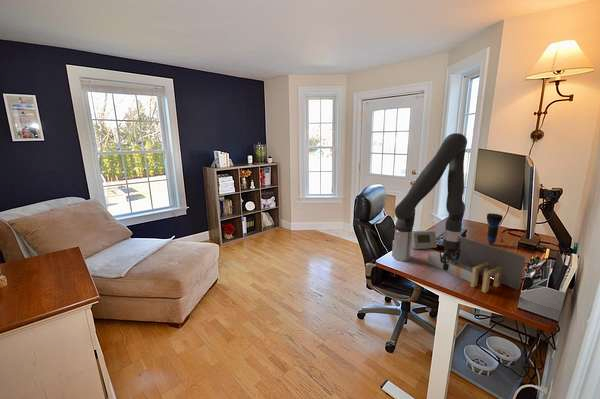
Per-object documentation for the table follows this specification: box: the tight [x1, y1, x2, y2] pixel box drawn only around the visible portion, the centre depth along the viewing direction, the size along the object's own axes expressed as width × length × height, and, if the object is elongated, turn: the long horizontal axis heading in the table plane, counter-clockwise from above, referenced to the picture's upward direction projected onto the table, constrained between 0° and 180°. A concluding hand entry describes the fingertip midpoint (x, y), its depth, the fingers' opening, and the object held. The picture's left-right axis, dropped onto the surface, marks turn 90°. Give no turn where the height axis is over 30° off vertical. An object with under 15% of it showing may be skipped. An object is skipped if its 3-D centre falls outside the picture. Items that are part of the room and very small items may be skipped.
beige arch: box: [469, 262, 491, 288], centre depth 124 cm, size 2×12×10 cm, turn 118°
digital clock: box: [411, 229, 438, 250], centre depth 166 cm, size 16×9×11 cm, turn 86°
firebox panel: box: [456, 236, 526, 291], centre depth 131 cm, size 32×1×16 cm, turn 28°
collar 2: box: [481, 266, 503, 294], centre depth 119 cm, size 2×12×10 cm, turn 118°
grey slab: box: [427, 252, 480, 283], centre depth 136 cm, size 24×5×5 cm, turn 27°
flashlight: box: [486, 212, 503, 246], centre depth 168 cm, size 8×8×20 cm
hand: (448, 268), depth 138 cm, fingers closed on grey slab, 5 cm apart
